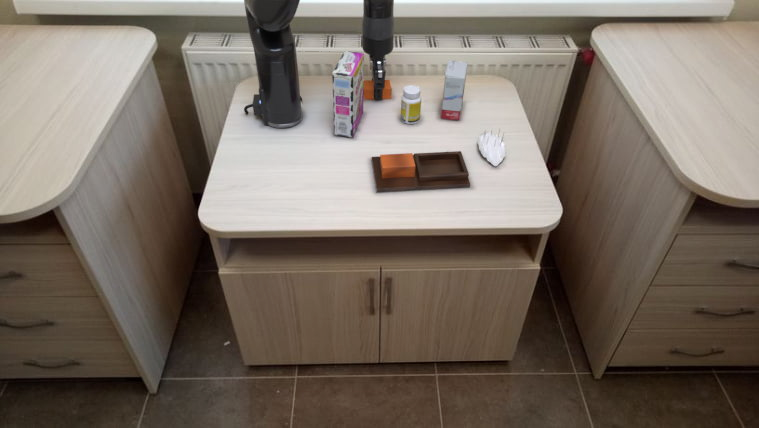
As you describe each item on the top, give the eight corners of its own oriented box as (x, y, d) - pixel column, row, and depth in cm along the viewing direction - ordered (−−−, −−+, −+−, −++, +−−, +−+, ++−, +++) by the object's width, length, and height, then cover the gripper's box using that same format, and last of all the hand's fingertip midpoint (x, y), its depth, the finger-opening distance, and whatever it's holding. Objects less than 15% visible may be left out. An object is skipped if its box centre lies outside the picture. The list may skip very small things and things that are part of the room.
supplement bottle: (422, 117, 134) (425, 87, 129) (415, 126, 131) (417, 96, 126) (404, 112, 136) (406, 82, 130) (397, 121, 133) (398, 91, 127)
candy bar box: (354, 138, 127) (353, 76, 116) (333, 136, 128) (330, 73, 117) (364, 113, 135) (364, 52, 124) (345, 110, 136) (343, 49, 125)
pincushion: (473, 135, 129) (477, 115, 125) (499, 135, 129) (503, 115, 125) (481, 167, 120) (485, 146, 117) (508, 167, 121) (513, 146, 117)
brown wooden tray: (376, 192, 114) (376, 178, 111) (371, 160, 121) (371, 145, 119) (469, 187, 115) (472, 172, 113) (459, 155, 123) (461, 141, 121)
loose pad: (364, 99, 140) (364, 89, 138) (362, 90, 143) (362, 80, 141) (391, 98, 140) (391, 88, 138) (389, 89, 144) (389, 79, 141)
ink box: (459, 121, 133) (465, 78, 125) (439, 118, 134) (444, 76, 126) (462, 103, 139) (468, 61, 131) (443, 100, 140) (448, 58, 132)
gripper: (360, 18, 134) (360, 80, 146) (364, 45, 124) (364, 109, 136) (390, 18, 135) (388, 79, 147) (397, 44, 125) (394, 108, 137)
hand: (376, 93), depth 141 cm, fingers closed on loose pad, 4 cm apart
